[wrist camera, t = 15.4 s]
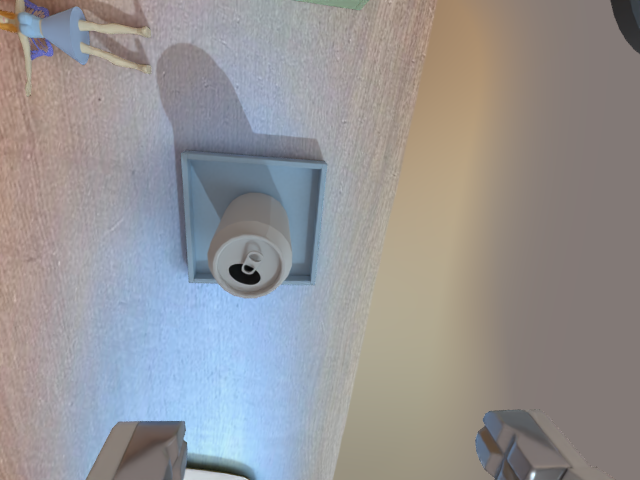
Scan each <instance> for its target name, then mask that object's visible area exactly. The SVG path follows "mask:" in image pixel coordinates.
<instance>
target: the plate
mask: <svg viewBox="0 0 640 480" xmlns="http://www.w3.org/2000/svg"><path fill="white" fill-rule="evenodd" d="M183 480H250V479H248V478H247V477H245V476H241V475H236V474H232V473H227V472H221V471H214V470H207V469H198V468H190V467H186V469H185V475H184V479H183Z"/></svg>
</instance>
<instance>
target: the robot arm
mask: <svg viewBox="0 0 640 480" xmlns="http://www.w3.org/2000/svg"><path fill="white" fill-rule="evenodd" d="M483 422H484V424H485V426H484V427H483V428H482V429H481V430H480V431H478V434H477V437H476V440H475V441H476V451H477V454H478V457H479V460H480V462H481V464H482V466H483V468H484V469H485V470H486V471H487V472H488V473H489V474H490V475H492V476H493V477H494V478H495V480H615V479H614V478H613V477H611V476H610V475H608V474H607V473H605V472H604V471H602V470H600V469H599V468H597V467H591V466H590V465H589V464H588V462H587V461H586V460H585V459H584V458H583V456H582V455H581V454H580V453H579V452H578V451H577V449H576V448H575V447H574V446H573V445H572V443H571V442H570V441H569V440H568V439H567V438H566V436H565V435H564V434H563V433H562V432H561V430H560V429H559V428H558V427H557V426H556V425H555V423H554V422H553V421H552V420H551V419H550V418H549V416H548V415H547V414H546V413H545V412H543V411H541V410H501V411H489V412H488V413H486V414H485V416H484V418H483ZM185 431H186V428H185V421H129V422H118V423H117V424H116V425H115V426H114V427H113V428H112V430H111V432H110V434H109V436H108V438H107V440H106V442H105V444H104V445H103V447H102V449H101V451H100V453H99V455H98V457H97V459H96V461H95V463H94V465H93V467H92V469H91V471H90V473H89V474H88V476H87V478H86V480H183V479H184V475H185V469H186V463H187V442H185V441H184V440H183V439H184V435H185Z"/></svg>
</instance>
